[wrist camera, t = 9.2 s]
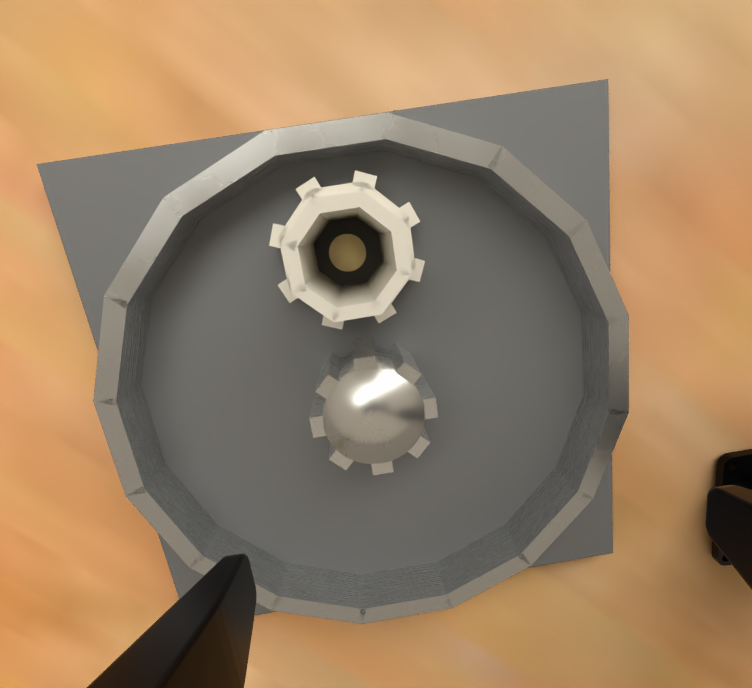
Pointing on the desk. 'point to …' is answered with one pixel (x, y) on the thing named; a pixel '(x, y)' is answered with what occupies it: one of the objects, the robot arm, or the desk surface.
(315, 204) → the gear
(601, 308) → the grey flat ring
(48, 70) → the desk surface
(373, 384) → the sun gear
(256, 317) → the tray
